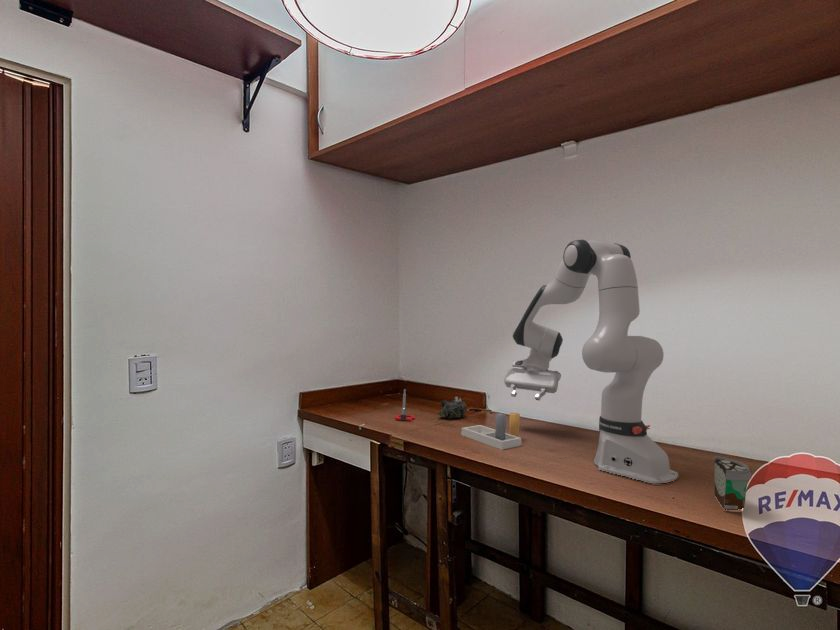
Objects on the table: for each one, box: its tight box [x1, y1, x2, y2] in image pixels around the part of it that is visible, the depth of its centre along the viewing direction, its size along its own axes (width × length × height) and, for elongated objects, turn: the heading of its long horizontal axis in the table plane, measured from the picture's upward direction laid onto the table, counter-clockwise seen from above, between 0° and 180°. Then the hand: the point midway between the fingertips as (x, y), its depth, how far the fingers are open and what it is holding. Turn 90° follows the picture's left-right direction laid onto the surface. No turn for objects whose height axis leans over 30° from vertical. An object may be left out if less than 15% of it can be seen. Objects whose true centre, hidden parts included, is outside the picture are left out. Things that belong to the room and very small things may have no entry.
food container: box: [713, 455, 752, 510], centre depth 107 cm, size 12×6×10 cm, turn 158°
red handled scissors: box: [394, 388, 416, 422], centre depth 187 cm, size 8×13×9 cm
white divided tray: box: [461, 424, 522, 451], centre depth 154 cm, size 20×9×4 cm, turn 35°
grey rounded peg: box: [495, 412, 507, 441], centre depth 151 cm, size 4×4×10 cm
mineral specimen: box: [436, 396, 468, 420], centre depth 193 cm, size 15×13×10 cm
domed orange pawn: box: [508, 412, 521, 438], centre depth 157 cm, size 4×4×10 cm
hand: (524, 397), depth 166 cm, fingers open, 8 cm apart
